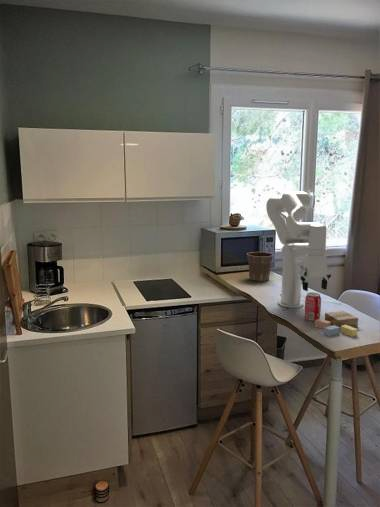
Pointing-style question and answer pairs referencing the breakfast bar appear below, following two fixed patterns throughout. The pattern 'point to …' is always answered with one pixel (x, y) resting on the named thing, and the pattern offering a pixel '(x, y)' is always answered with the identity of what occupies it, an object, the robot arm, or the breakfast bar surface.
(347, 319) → the tan flat block
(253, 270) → the plant pot
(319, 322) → the terracotta brick
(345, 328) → the mustard brick
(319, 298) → the soda can
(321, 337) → the breakfast bar surface
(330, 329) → the slate brick
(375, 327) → the breakfast bar surface
